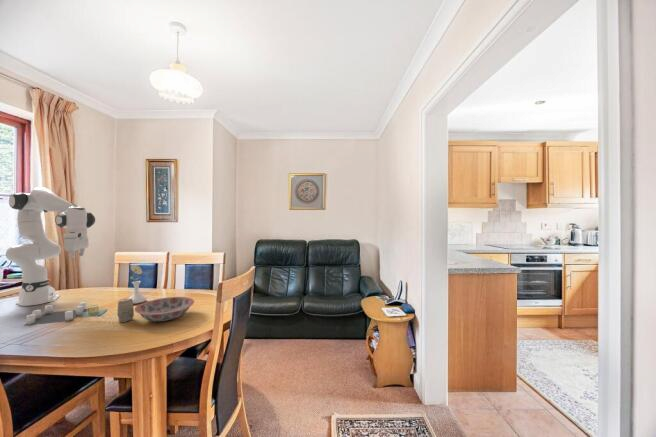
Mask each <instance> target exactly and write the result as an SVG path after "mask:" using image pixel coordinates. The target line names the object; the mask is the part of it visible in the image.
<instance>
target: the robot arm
mask: <svg viewBox="0 0 656 437" xmlns="http://www.w3.org/2000/svg"><path fill="white" fill-rule="evenodd" d="M8 205H9V207H10V208H12V209H14V210H18V211H17V216H16V217H17V227H18V233H19V236H20V237H21V238H23V239H25V240H29V241H30V242H32V243H21V244H16V245H12V246H10V247H8V248H7V249H6V250H5V251H6V252H5V258H6V259H7V260H8V261H10V262H12V263H15V264H16V265H17V266H18V267H19V268H20V270H21V273H22V282H21V290H19V294H18V301H17V302H16V303H15V305H18V306H22V307H28V306H30V307H31V306H35V305H41V304H45V303H50V302H51V303H52V302H55V301H56V300H57V299H58V298H60V297H61V294H57V293H56V289H55V288H54V287H52V285H51V284H50V282H52V281H51V280H52V279H50V278H48V268H47V267H46V266H45V265H41V264H37V262H36V261H39V260H47V259H49V260H50V259H52V258H56V257H59V255H60V254H61V252H62V248H61V246H60V245H59V243H56V242H54V241H53V240H51V239H50V238H49V237H48V236H47V234H46V232H45V230H44V225H43V220H42V216H41V214H42V212H44V213H48V212H53V213H58V214H57V215H56V216H55V218H54V219H55V225H56V226H57V227H59V228H62V229H66V232H65V233H64V234H62V235H63V236H62V237H63V242H64V243H63V244H64V245H63V246H64V251H65V252H69V254H70V258H71V259H75V258H77V255H76V251H78V250H79V253H78V256H79V257H83V256H84V255H85V253H84V252H85V250H86V249H87V248H88V247H89V245H90V244H89V238H88V228H89V229H90V228H91V227H92V226H93V225H95V223H96V217H95V216H94V214H93V213H91V212H90V211H87V210H86V208H85V207H83V206H78V205H76V204H75V203H73V202H71V201H68V200H66V199H64V198H62V197H60V196H58V195H57V194H56V193H55V192H53V191H52V190H50V189H49V188H47V187H35V188H34V189H32V190H31V192H30V193H27V192H26V193H25V192H18V193H17V192H16V193H13V194H11V195H10V196H9V199H8Z"/></svg>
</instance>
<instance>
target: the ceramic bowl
mask: <svg viewBox="0 0 656 437" xmlns="http://www.w3.org/2000/svg"><path fill="white" fill-rule="evenodd" d="M194 303H195V300H194V299H193V298H190V297H186V296H167V297H162V298H161V297H160V298H157V299H153V300H148V301H144V302H141V303H139V304H138V305H137V306H135V307H134V313H137V314H140V316H141V317H143V318H144V319H145V320H147V321H151V322H165V321H166V322H167V321H172V320H174V319H178V318H180V317H181V316H183V315H184V314H185V313H186V312H187V311H189V309H190V307H192V306H193V305H194Z"/></svg>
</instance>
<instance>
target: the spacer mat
mask: <svg viewBox="0 0 656 437" xmlns="http://www.w3.org/2000/svg"><path fill="white" fill-rule="evenodd" d="M53 307H54V306H53V304H47V305H44V313H43V314H41V313H42V312H41V311H42V309H35V310H32V311H31V312H32V314H27V315H26V320H25V321H26V322H25V323H26V324H24V325H23V326H25V327H26V326H34V325H45V324H55V323H64V322H72V321H73V320H75V319H76V318H79V316H81V315H82V314H83V313H85V312H86V311H88V308H87V302H86V301H83V302H79V304H78V306H75V309H73V310H71V309H70V310H63V311H62V310H61V311H59V310H58V311H54V310H53V309H54V308H53Z"/></svg>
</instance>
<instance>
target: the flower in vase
mask: <svg viewBox="0 0 656 437" xmlns="http://www.w3.org/2000/svg"><path fill="white" fill-rule="evenodd" d="M130 270H131V271H132V272H133V276H132V275H131V276H130V277H129V279H131V280H134V281H132V282H131V284H132V285H133V288H134V289H133V290H134V291H133V294H131V296H129V297H128V298H130V299H132V301H133V305H135V304H136V305H137V304H142V303H145V302H147V297H146V296H145V295H143V294H141V293H140V291H139V286H140V284H141V282H142V281H141V280H138V279H140V277H141V276H139V277H137V278H135V274H137V275H141V274H143V269H142V268H141V267H140V266H139V265H137V264H136V265H135V264H132V265H131V266H130ZM136 280H137V281H136Z"/></svg>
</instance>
